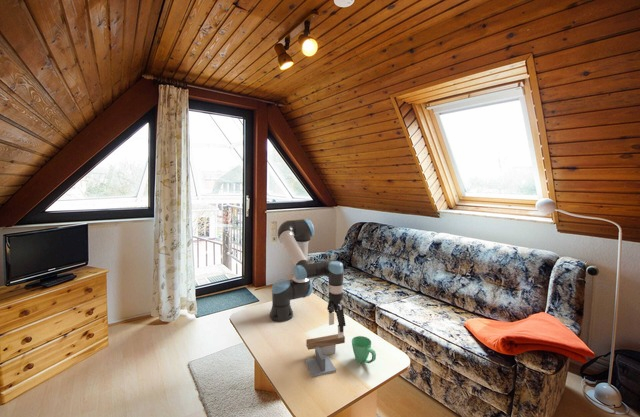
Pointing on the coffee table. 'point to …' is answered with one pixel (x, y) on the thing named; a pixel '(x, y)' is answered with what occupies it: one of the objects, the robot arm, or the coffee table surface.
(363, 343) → the mug
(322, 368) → the fulcrum
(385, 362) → the coffee table surface
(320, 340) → the plank
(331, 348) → the post
